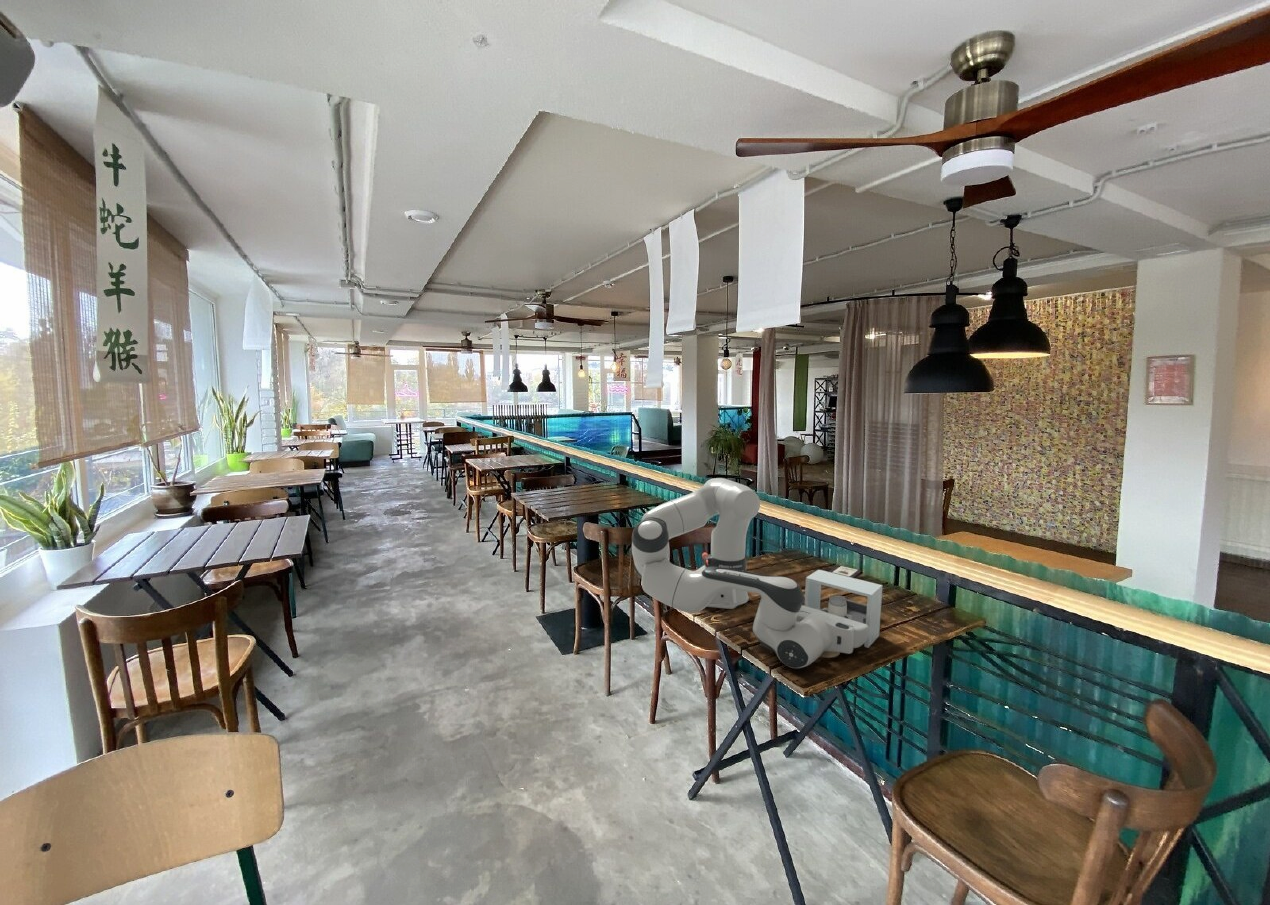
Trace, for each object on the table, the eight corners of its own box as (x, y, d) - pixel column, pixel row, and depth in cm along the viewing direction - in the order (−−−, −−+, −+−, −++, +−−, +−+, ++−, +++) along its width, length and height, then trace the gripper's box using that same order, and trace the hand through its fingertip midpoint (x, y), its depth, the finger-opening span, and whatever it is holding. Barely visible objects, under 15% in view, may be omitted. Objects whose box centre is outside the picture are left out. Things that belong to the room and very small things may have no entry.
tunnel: (868, 647, 136) (871, 594, 134) (803, 626, 148) (805, 577, 146) (879, 635, 142) (882, 585, 141) (816, 616, 154) (818, 569, 153)
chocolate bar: (819, 577, 185) (837, 565, 198) (819, 580, 185) (837, 567, 198) (844, 584, 179) (861, 570, 192) (844, 586, 179) (861, 573, 192)
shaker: (830, 639, 140) (832, 601, 139) (824, 631, 145) (826, 594, 144) (847, 640, 140) (850, 601, 139) (841, 631, 145) (843, 594, 143)
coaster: (809, 657, 131) (809, 655, 131) (799, 640, 140) (799, 638, 140) (845, 658, 131) (845, 656, 130) (832, 640, 139) (833, 638, 139)
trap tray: (866, 628, 147) (867, 619, 146) (831, 618, 153) (832, 608, 153) (877, 617, 154) (878, 608, 154) (844, 607, 161) (844, 598, 160)
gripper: (780, 630, 140) (802, 613, 150) (857, 656, 126) (875, 636, 136) (781, 608, 139) (803, 593, 149) (858, 632, 125) (876, 614, 135)
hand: (838, 614), depth 142 cm, fingers closed on shaker, 5 cm apart
